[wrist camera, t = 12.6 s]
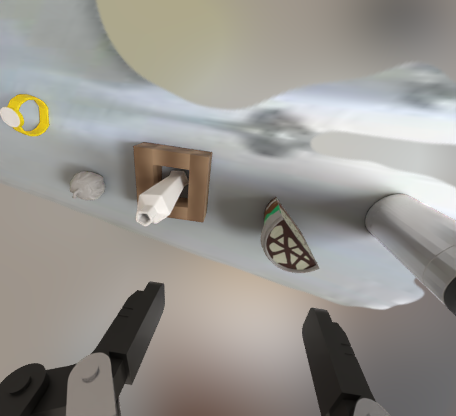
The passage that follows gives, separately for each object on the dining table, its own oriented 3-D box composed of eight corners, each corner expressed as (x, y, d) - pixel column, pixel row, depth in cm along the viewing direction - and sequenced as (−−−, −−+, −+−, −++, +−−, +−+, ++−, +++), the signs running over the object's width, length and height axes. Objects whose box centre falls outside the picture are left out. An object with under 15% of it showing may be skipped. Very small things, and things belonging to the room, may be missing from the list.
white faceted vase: (161, 171, 38) (117, 206, 24) (183, 164, 37) (149, 197, 23) (171, 193, 40) (135, 237, 26) (192, 187, 39) (166, 230, 25)
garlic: (93, 199, 41) (74, 210, 37) (74, 175, 39) (52, 184, 35) (116, 189, 40) (99, 199, 35) (99, 163, 38) (79, 171, 33)
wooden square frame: (212, 152, 36) (208, 157, 32) (206, 212, 41) (203, 222, 37) (144, 142, 36) (133, 146, 32) (147, 203, 41) (138, 212, 37)
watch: (55, 134, 36) (23, 142, 31) (39, 129, 36) (4, 135, 31) (51, 98, 33) (15, 100, 28) (34, 92, 33) (-6, 92, 28)
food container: (245, 208, 40) (245, 237, 31) (272, 190, 38) (281, 216, 29) (278, 249, 44) (287, 286, 35) (304, 235, 42) (321, 270, 33)
